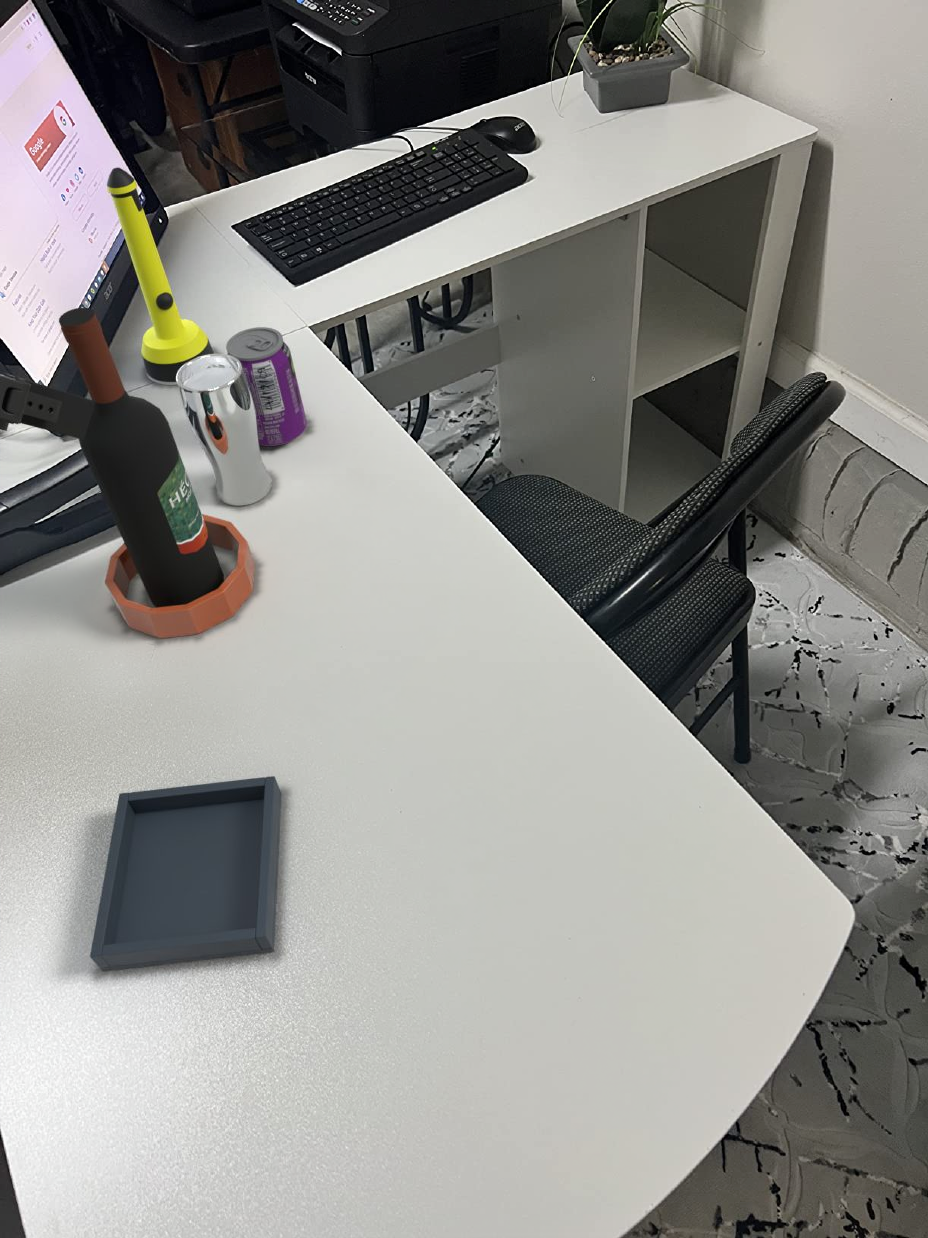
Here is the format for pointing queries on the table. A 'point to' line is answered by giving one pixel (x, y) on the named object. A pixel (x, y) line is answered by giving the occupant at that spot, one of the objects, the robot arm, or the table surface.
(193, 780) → the table surface
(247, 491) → the beer glass
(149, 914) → the tray
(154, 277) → the flashlight
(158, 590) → the wine bottle
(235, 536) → the faceted bangle
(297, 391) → the beverage can
